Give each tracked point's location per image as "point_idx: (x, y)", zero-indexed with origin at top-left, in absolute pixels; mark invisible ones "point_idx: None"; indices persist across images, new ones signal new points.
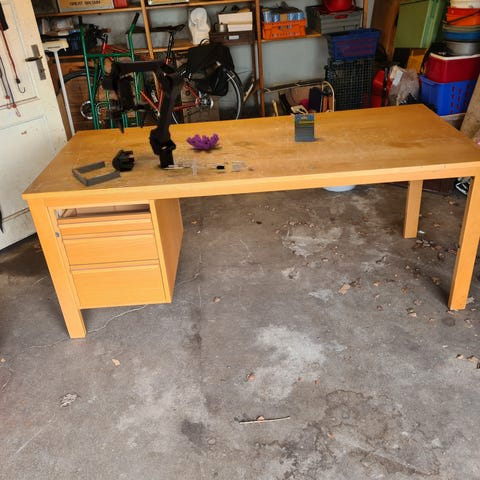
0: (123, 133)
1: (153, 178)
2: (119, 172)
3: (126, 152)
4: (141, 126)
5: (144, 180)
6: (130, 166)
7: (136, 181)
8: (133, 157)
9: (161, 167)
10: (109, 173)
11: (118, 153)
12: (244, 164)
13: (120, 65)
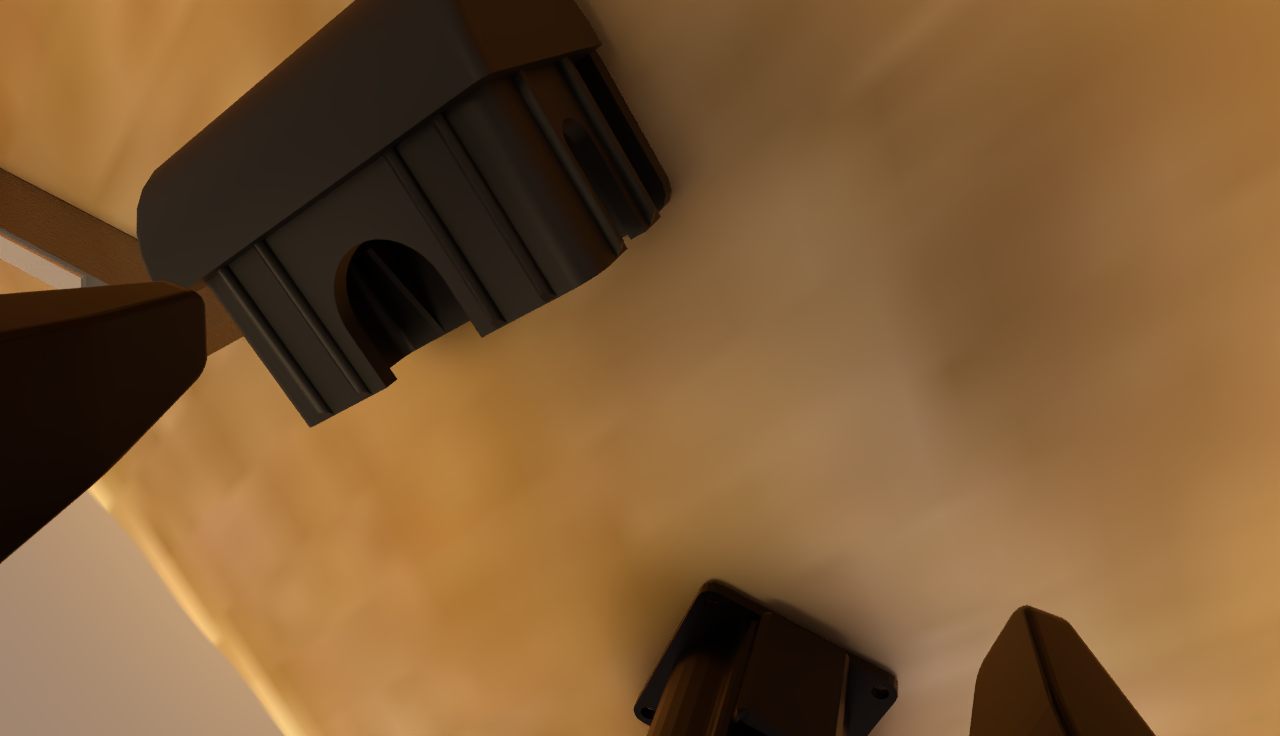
0: (185, 368)
1: (417, 683)
2: (210, 349)
3: (438, 241)
4: (984, 733)
5: (339, 625)
6: (430, 337)
7: (281, 566)
8: (627, 232)
9: (654, 673)
10: None
11: (271, 173)
12: None
13: None
